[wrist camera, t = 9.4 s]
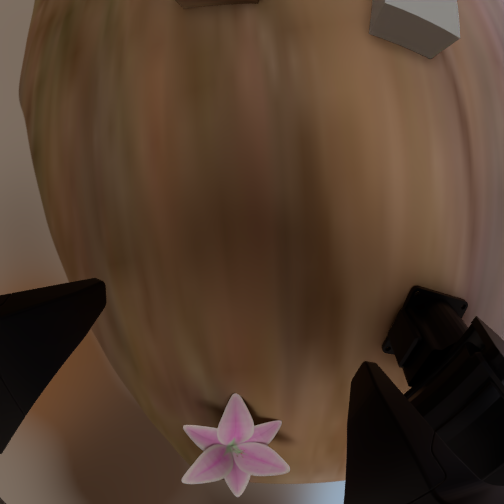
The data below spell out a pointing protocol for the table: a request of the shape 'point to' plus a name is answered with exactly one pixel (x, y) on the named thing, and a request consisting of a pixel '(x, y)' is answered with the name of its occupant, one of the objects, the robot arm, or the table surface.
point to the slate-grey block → (416, 24)
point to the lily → (234, 449)
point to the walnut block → (211, 2)
